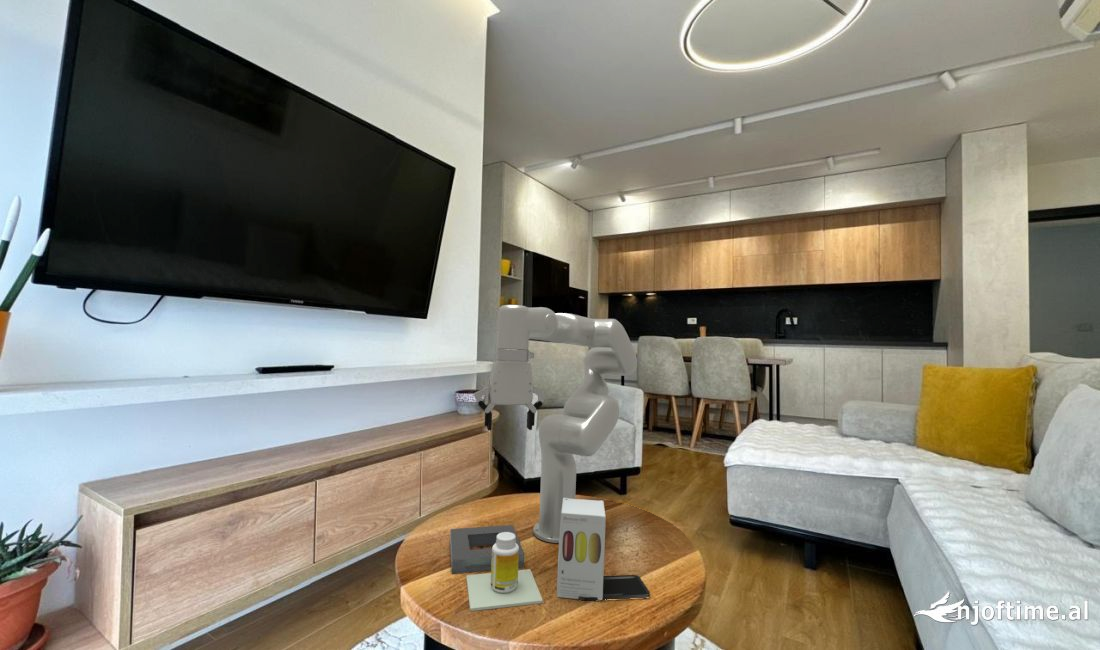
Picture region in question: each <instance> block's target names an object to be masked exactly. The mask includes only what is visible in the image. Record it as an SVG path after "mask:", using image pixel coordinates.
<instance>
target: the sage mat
mask: <svg viewBox="0 0 1100 650" xmlns="http://www.w3.org/2000/svg"><path fill="white" fill-rule="evenodd" d="M465 579H466V585H467V587H466V588H467V593H468V594H467V596H468V604H469V611H470V612H475V611H484V610H493V609H501V608H502V609H503V608H504V609H505V608H511V607H518V606H520V607H521V606H527V605H528V606H529V605H538V604H543V601H544V600H543V597H542V595H541V592H540V590H539V588H538V585H537V582H536V580H535V578H534V574H533V573H532V571H531V568H529V569H518V584H517V587H516V588H515V589H514V590H513V591H511V592H507V593H500V592H496V591H495V590H493V589H492V587H491V572H487V573H476V574H466V577H465Z"/></svg>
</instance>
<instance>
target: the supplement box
mask: <svg viewBox="0 0 1100 650" xmlns="http://www.w3.org/2000/svg"><path fill="white" fill-rule="evenodd" d="M606 520H607V519H606V511H605V502H604V500H602V499H601V500H595V499H593V500H592V499H583V498H575V499H569V498H563V504H562V511H561V522H560V536H559V543H558V552H557V553H558V556H557V575H556V577H557V578H556V579H557V580H556V597H557V598H562V599H563V598H565V599H574V600H578V598H579V596H581V597H598V600H602V599H603V576H605V575H604V573H605V572H604V571H605V569H604V568H605V547H606V545H605V543H606V525H607V524H606V523H607V522H606Z"/></svg>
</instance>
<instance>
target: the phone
mask: <svg viewBox="0 0 1100 650" xmlns="http://www.w3.org/2000/svg"><path fill="white" fill-rule="evenodd" d="M650 595H651V592H650V591H649V589H648V587H647V586H646V584H645V583H644V581H643V579H642V578H641V576H639V575H637V574H625V575H623V574H619V575H603V599H602V600H605V599H606V600H607V599H630V598H646V597H649V596H650ZM578 599H579V600H581V601H594V602H597V601H596V600H598V597H581V596H579V598H578ZM578 599H577V600H578ZM579 600H578V601H579ZM581 601H580V602H581Z"/></svg>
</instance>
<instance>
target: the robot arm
mask: <svg viewBox="0 0 1100 650" xmlns="http://www.w3.org/2000/svg"><path fill="white" fill-rule="evenodd" d="M497 314H498V315H497V317H498V318H497V320H498V321H497V341H496V342H497V343H496V344H497V345H496V361H493V362H492V364H491V370H490V375H489V376H490V377H489V385H488V386H486V387H484V388H482V389H480V390H478V391H476V392H474V393H473V397H474V399H475V401H476V403H477V404H478V406H479V407H480V408H481V410H483V412H484V427H486V429H487V431H492V420H493V413H492V410H493V409H494V407H495V406H496V405H497V406H526V407H527V409H528V411H527V412H526V429H528V430H529V431H532V430H533V427H534V426H535V421H536V420H535V417H536V413H537V411H538V410H539V409H540V408H541V407H542V406H543V403H544V402H545V401H546V399H547V394H546V393H544V392H543V391H541V390H539V389H537V388H536V387H534V386H533V385H534V384H533V372H532V365H531V362H529V360H530V359H534V358H535V352H531V351H530V349H529V346H530V345H529V343H530V341H529V340H537V341H545V342H550V343H551V342H552V343H556V344H566V345H574V346H580V347H587V348H590V349H589V350H588V351H587V352H586V354H585V356H584V360H583V363H584V364H583V366H584V367H583V369H584V373H583V374H584V376H583V377H584V378H583V379H584V380H583V382H581V384H580V386H578V388H577V389H576V390H575V391H574V392H573V394H571V395H570V397H569V398H568V399H567V400H566V402H565V404H564V406H563V414H561V413H559V414H558V413H554V414H549V415H547V416H546V417H544V418H543V419H542V420H541V422H540V425H539V427H538V439H539V446H540V454H541V456H540V457H541V460H540V461H541V466H540V467H541V468H540V471H541V473H540V488H539V489H540V494H539V518H538V519H539V521H538V522H537V523H536V524H534V526H533V528H532V530H533V531H532V534H533V535H534V536H535V537H536V538H537V539H539V540H541V541H542V542H543V541H544V542H547V543H551V544H552V543H553V544H559V536H560V522H561V511H562V504H563V498H569V499H576V488H577V487H576V486H577V485H576V484H577V483H576V482H577V465H576V461H575V457H574V455H576V456H581V457H591V456H593V455H595V454H596V453H598V451H599V449H600V448H601V447H602V445H604V443H605V441H606V440H607V439H608V437H609V435H610V434H611V433H612V432H613V431H614V428H615V427H616V425H617V424H618V420H619V415H620V407H619V404H618V401H617V400H616V398H614V397H613V396H611V395H609V386H608V383H607V382H606V380H605V378H604V375H609V376H611V375H612V376H620V377H621V376H622V377H623V376H630V375H633V373H634V372H635V371H636V369H637V366H638V359H637V358H638V357H637V353H636V350H635V348H634V347H633V344H632V342H631V340H630V337H629V335H628V333H627V331H626V330H625V327H624V326H623V324H622V323H621V322H619V321H618V320H617V319H616V318H590V317H586V316H581V315H579V314H575V313H574V314H573V313H567V312H564V313H563V312H557V313H555V311H554V310H552V309H550V308H548V307H542V306H539V307H528V306H526V305H520V304H504V305H501V306H500V307H499V310H498V313H497ZM487 394H488V400H489V401H488V403H487V404H486V403H485V401H483V399H482V396H485V395H487ZM533 394H534V395H536V396H537V397H538V399H537V401H535V402H534V403H532V402H533V399H534V398H533V397H534V396H533Z"/></svg>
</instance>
